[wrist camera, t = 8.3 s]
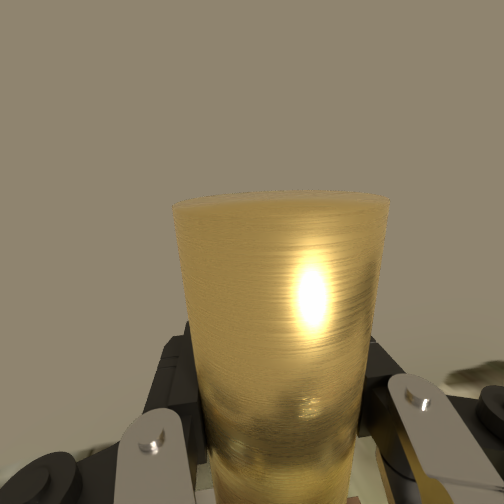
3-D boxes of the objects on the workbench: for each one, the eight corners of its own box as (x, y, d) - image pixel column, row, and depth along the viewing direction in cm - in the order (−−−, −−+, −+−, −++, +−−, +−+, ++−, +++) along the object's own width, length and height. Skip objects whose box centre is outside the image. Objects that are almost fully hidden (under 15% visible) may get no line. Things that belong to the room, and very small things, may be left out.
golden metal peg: (311, 472, 12) (328, 187, 8) (358, 629, 8) (460, 205, 3) (224, 488, 12) (187, 195, 7) (226, 664, 7) (140, 226, 3)
